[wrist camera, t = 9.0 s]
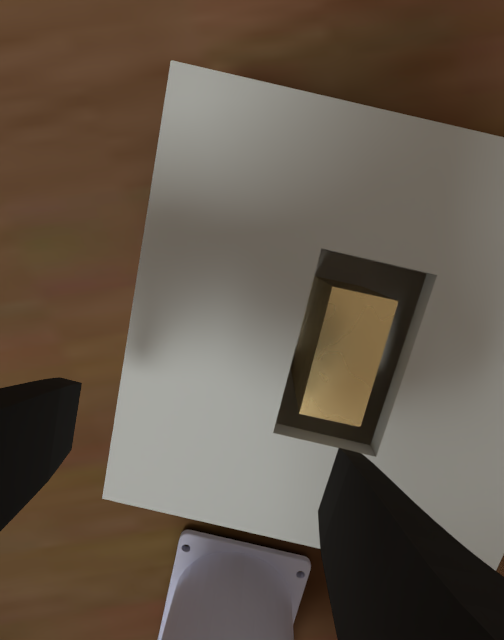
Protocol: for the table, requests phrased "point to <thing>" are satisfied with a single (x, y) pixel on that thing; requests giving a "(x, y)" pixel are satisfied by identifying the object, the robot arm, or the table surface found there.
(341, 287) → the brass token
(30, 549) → the table surface
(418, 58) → the table surface
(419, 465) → the coin box
